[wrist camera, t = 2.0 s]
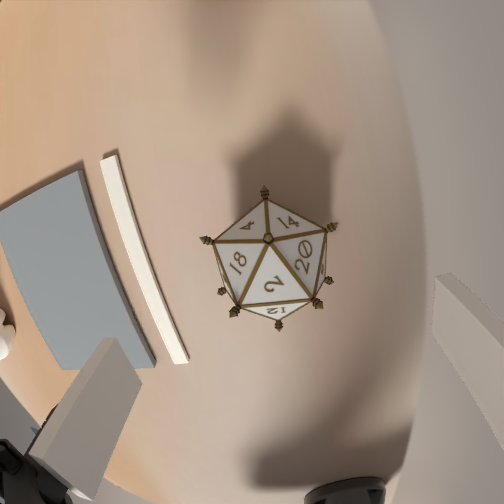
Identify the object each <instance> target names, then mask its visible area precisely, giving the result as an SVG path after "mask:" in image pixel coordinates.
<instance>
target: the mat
mask: <svg viewBox="0 0 504 504" xmlns="http://www.w3.org/2000/svg"><path fill="white" fill-rule="evenodd" d="M0 241H1V244H2V247H3V250H4V253H5V255H6V258H7V261H8V263H9V266H10V269H11V271H12V274H13V276H14V279H15V281H16V283H17V286H18V288H19V290H20V293H21V295H22V297H23V299H24V301H25V303H26V306H27V308H28V310H29V312H30V314H31V316H32V318H33V320H34V322H35V324H36V326H37V328H38V329H39V331H40V333H41V335H42V337H43V339H44V340H45V342H46V344H47V346H48V347H49V349H50V351H51V353H52V354H53V356H54V358H55V359H56V361H57V363H58V364H59V366H60V367H61V369H62V370H81V369H82V368H83V366H84V365H85V364H86V362H87V361H88V359H89V358H90V356H91V355H92V353H93V352H94V351H95V349H96V348H97V346H98V345H99V344H100V342H101V341H102V339H104V338H115V337H116V338H117V339H118V341H119V343H120V345H121V347H122V349H123V351H124V353H125V354H126V356H127V358H128V360H129V361H130V363H131V365H132V367H133V368H134V369H139V368H154V367H155V365H156V361H155V359H154V357H153V355H152V353H151V351H150V349H149V347H148V345H147V343H146V341H145V339H144V336H143V334H142V332H141V330H140V328H139V326H138V324H137V321H136V319H135V317H134V315H133V313H132V310H131V308H130V306H129V304H128V301H127V299H126V296H125V294H124V292H123V289H122V287H121V284H120V282H119V279H118V277H117V274H116V272H115V269H114V267H113V264H112V261H111V259H110V256H109V253H108V251H107V248H106V245H105V242H104V239H103V236H102V234H101V231H100V228H99V225H98V221H97V218H96V215H95V212H94V209H93V206H92V202H91V199H90V195H89V192H88V188H87V185H86V181H85V178H84V174H83V170H78V171H75V172H73V173H71V174H69V175H67V176H65V177H63V178H61V179H59V180H57V181H55V182H53V183H51V184H49V185H47V186H45V187H43V188H41V189H39V190H37V191H35V192H33V193H32V194H30V195H28V196H26V197H24V198H23V199H21V200H19V201H17V202H16V203H14V204H12V205H10V206H9V207H7V208H5V209H4V210H2V211H0Z"/></svg>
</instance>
